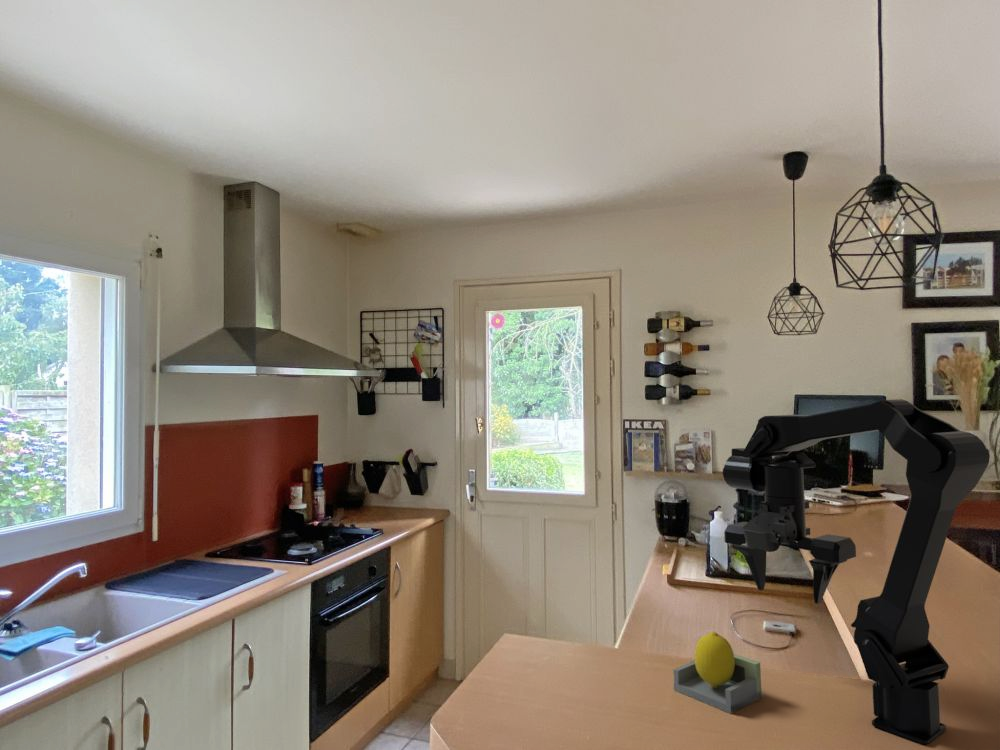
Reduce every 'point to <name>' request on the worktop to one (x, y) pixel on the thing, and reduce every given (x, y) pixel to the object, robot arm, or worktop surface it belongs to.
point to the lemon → (714, 659)
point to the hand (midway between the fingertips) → (788, 596)
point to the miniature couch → (725, 696)
